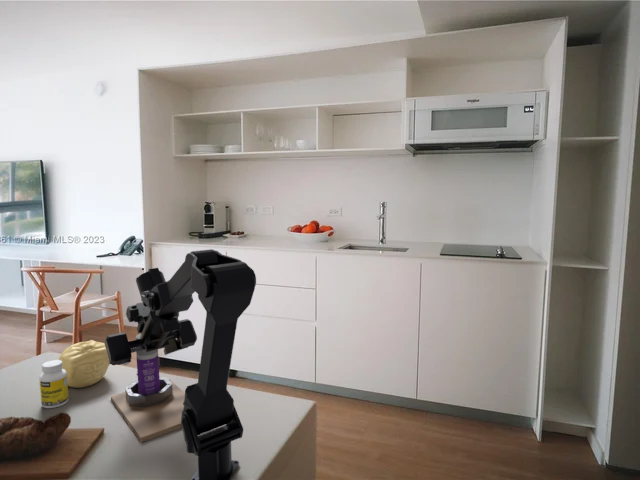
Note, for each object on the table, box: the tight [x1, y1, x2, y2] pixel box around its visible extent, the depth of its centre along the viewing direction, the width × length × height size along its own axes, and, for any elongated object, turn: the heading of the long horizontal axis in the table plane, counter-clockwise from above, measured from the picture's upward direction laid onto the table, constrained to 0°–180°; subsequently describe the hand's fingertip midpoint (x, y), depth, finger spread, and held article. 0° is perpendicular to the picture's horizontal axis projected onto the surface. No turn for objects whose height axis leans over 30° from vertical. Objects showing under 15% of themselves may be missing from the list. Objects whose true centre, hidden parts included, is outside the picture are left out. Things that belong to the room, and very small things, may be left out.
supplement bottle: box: [39, 359, 70, 409], centre depth 100 cm, size 5×5×10 cm
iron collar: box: [124, 376, 173, 407], centre depth 101 cm, size 10×10×2 cm
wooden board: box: [110, 378, 185, 443], centre depth 98 cm, size 22×14×1 cm, turn 40°
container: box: [135, 333, 160, 395], centre depth 100 cm, size 5×5×15 cm
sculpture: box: [58, 339, 111, 389], centre depth 110 cm, size 11×12×11 cm
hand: (145, 357), depth 101 cm, fingers open, 9 cm apart
